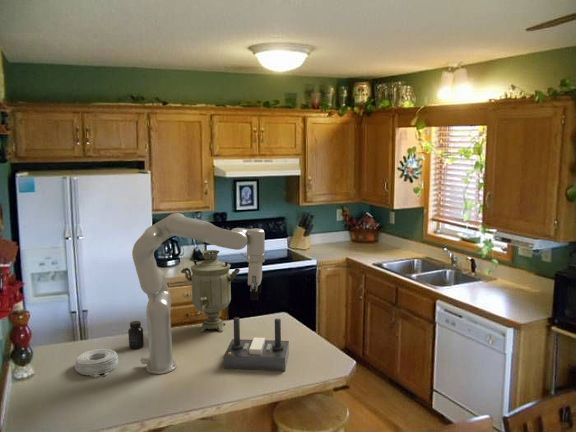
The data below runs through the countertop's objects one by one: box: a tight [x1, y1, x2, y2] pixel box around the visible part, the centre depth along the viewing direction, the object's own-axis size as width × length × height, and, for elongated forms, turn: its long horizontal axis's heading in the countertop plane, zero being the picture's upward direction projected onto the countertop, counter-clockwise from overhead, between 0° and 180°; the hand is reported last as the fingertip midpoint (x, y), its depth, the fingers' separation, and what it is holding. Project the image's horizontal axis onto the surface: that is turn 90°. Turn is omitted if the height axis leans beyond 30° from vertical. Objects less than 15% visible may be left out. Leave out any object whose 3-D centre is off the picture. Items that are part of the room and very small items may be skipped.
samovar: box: [180, 249, 240, 333], centre depth 268 cm, size 30×26×40 cm
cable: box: [74, 348, 119, 378], centre depth 227 cm, size 18×18×6 cm
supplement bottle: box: [127, 320, 145, 350], centre depth 249 cm, size 7×7×12 cm
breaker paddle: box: [249, 337, 266, 355], centre depth 233 cm, size 5×13×7 cm, turn 175°
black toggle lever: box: [272, 318, 283, 351], centre depth 231 cm, size 5×5×13 cm
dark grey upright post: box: [232, 317, 243, 350], centre depth 232 cm, size 5×5×13 cm
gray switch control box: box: [223, 338, 290, 372], centre depth 233 cm, size 26×18×7 cm
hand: (255, 296), depth 229 cm, fingers open, 9 cm apart
